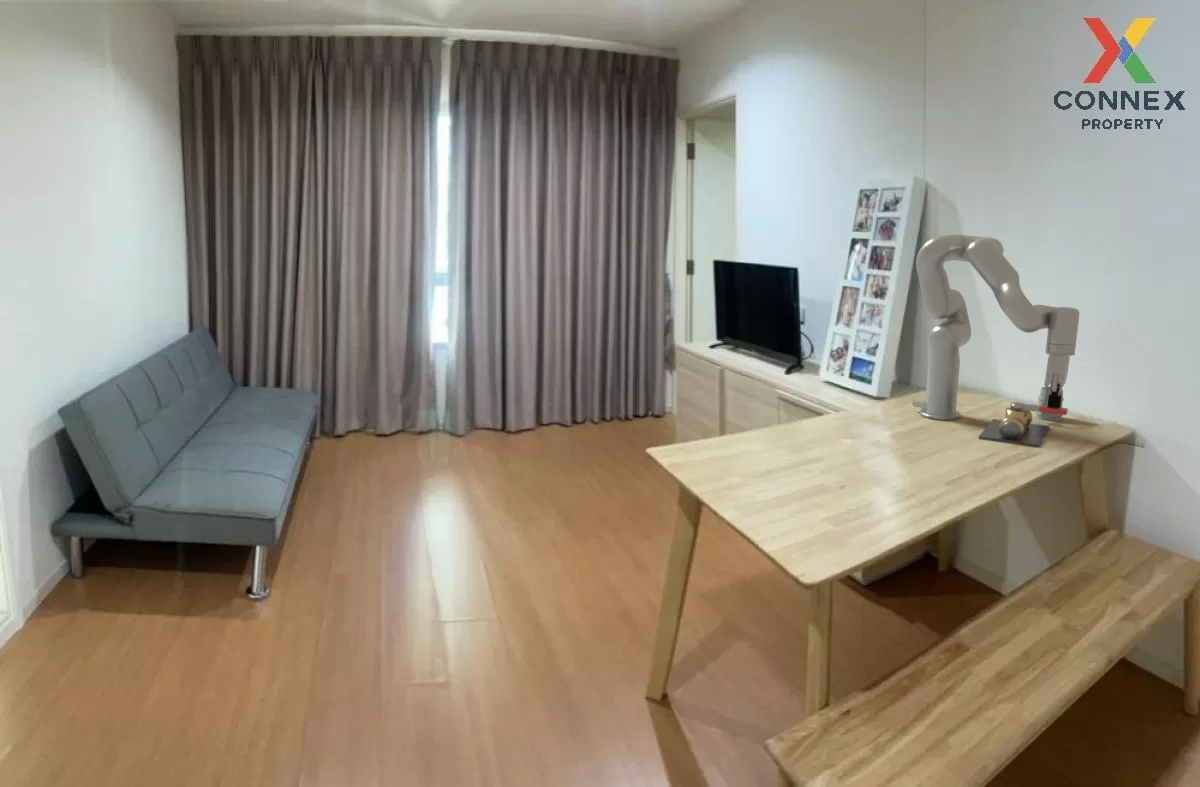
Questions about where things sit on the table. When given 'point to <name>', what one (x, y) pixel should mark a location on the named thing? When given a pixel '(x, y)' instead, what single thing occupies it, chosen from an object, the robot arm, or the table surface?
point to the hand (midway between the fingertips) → (1053, 407)
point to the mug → (1044, 402)
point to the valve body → (1015, 429)
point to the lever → (1038, 408)
